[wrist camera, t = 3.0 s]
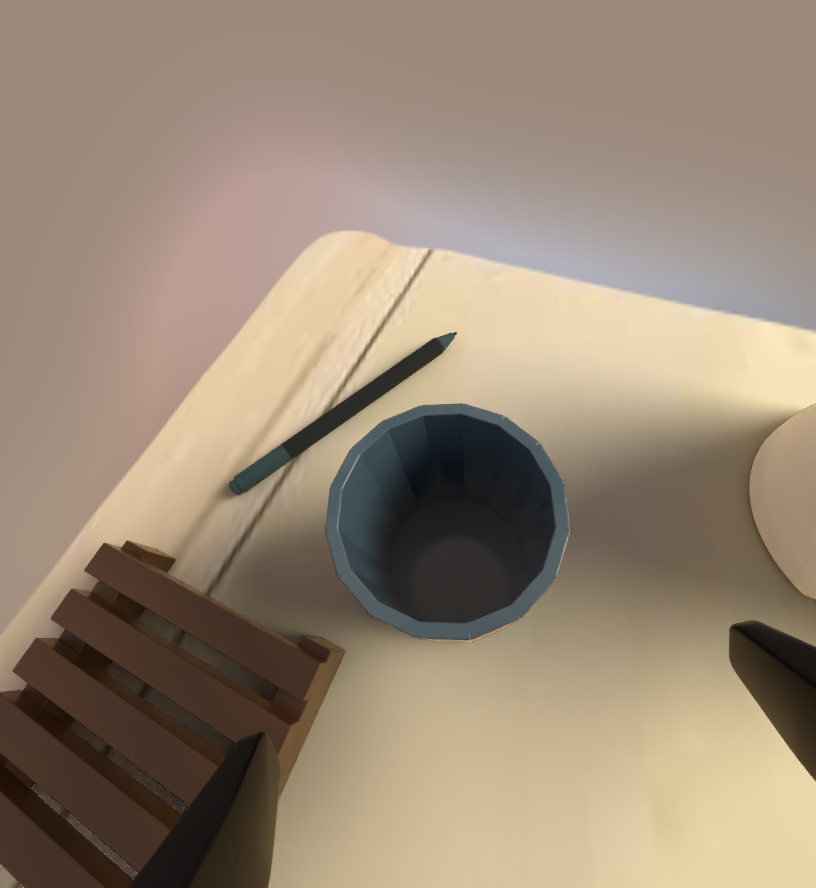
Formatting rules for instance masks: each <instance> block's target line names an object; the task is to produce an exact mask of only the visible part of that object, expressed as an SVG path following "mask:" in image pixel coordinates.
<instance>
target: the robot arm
mask: <svg viewBox="0 0 816 888" xmlns="http://www.w3.org/2000/svg"><path fill="white" fill-rule="evenodd" d="M729 658H730V662H731V665H732V667H733V669H734V671H735V672H736V674H737V675H738V676H739V678H740V679H741V681H742V682H743V683H744V685H745V686H746V688H747V689H748V690H749V692H750V693H751V695H752V696H753V697H754V699H755V700H756V702H757V703H758V705H759V706H760V707H761V709H762V710H763V712H764V713H765V714H766V716H767V717H768V719H769V720H770V721H771V723H772V724H773V726H774V727H775V728H776V730H777V731H778V733H779V734H780V735H781V737H782V738H783V740H784V741H785V742H786V744H787V745H788V747H789V748H790V749H791V751H792V752H793V753H794V755H795V756H796V757H797V759H798V760H799V761H800V763H801V764H802V765H803V766H804V767H805V769H806V770H807V771H808V772H809V774H810V775H811V776H812V777H813V779H814V780H815V781H816V647H815V646H813V645H811V644H808V643H806V642H804V641H802V640H799V639H797V638H795V637H793V636H790V635H788V634H786V633H784V632H781V631H779V630H777V629H775V628H772V627H770V626H768V625H766V624H763V623H761V622H758V621H754V620H750V621H745V622H741V623H736V624H733V625H732V626H731V627H730V630H729ZM280 774H281V765H280V760H279V757H278V755H277V753H276V751H275V749H274V747H273V745H272V743H271V741H270V739H269V737H268V735H267V733H266V732H264V731H257V732H253V733H248V734H245V735H244V736H242V737H241V738H240V739H239V740H238V742H237V743H236V744H235V746H234V747H233V748H232V750H231V751H230V752H229V754H228V755H227V756H226V758H225V759H224V760H223V762H222V763H221V764H220V766H219V767H218V768H217V770H216V771H215V772H214V774H213V775H212V776H211V778H210V779H209V780H208V782H207V783H206V784H205V786H204V787H203V788H202V790H201V791H200V792H199V794H198V795H197V796H196V798H195V799H194V800H193V802H192V803H191V804H190V806H189V807H188V808H187V810H186V811H185V812H184V814H183V815H182V816H181V818H180V819H179V820H178V822H177V823H176V824H175V826H174V827H173V828H172V830H171V831H170V832H169V833H168V835H167V836H166V837H165V839H164V840H163V841H162V843H161V844H160V845H159V847H158V848H157V849H156V851H155V852H154V853H153V855H152V856H151V857H150V859H149V860H148V861H147V863H146V864H145V865H144V867H143V868H142V869H141V871H140V872H139V873H138V875H137V876H136V877H135V879H134V880H133V881H132V883H131V884H130V885H129V887H128V888H268V886H269V879H270V873H271V865H272V856H273V846H274V836H275V825H276V815H277V805H278V795H279V784H280Z"/></svg>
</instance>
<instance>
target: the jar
mask: <svg viewBox="0 0 816 888" xmlns="http://www.w3.org/2000/svg"><path fill="white" fill-rule="evenodd" d="M749 492H750V502H751V508H752V513H753V516H754V520H755V523H756V526H757V528H758V531H759V533H760V536H761V538H762V540H763V542H764V544H765V546H766V547H767V549H768V551H769V553H770V554H771V556H772V557H773V559H774V561H775V562H776V563H777V565H778V566H779V568H780V569H781V570H782V572H783V573H784V574H785V575H786V577H787V578H788V579H789V580H790V581H791V583H792V584H793V585H794V586H795V587H796V588H797V589H798V590H799V591H800V592H801V593H802V594H803V595H805V596H808V597H810V598H813V599H816V404H813V405H811V406H809V407H807V408H806V409H804V410H802V411H801V412H799V413H798V414H796V415H795V416H793V417H792V418H791V419H789V420H788V421H786V422H785V423H783V424H782V425H781V426H779V427H778V428H777V429H776V430H775V431H774V432H773V433H772V434H771V435H770V436H769V437H768V438H767V439H766V440H765V442H764V443H763V444H762V446H761V448H760V449H759V451H758V453H757V455H756V457H755V460H754V462H753V466H752V470H751V475H750V485H749Z"/></svg>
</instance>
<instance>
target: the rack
mask: <svg viewBox="0 0 816 888" xmlns="http://www.w3.org/2000/svg"><path fill="white" fill-rule="evenodd" d="M175 560H176V559H174V558H173V557H171V556H169V555H167V554H165V553H163V552H161V551H159V550H158V549H155V548H151V547H148V546H145V545H141V544H138V543H135V542H131V541H126V542H125V544H124V545H123V547H122V548H121V547H118V546H115V545H111V544H107V543H103V545H102V546H101V547H100V549H99V550H98V552H97V553H96V554H95V556H94V557H93V559H92V560H91V561H90V563H89V564H88V566H87V567H86V568H85V570H84V571H85V572H87V573H88V574H90V575H92V576H93V577H95V578H97V579H98V580H99V581H98V583H97V584H96V586H95V587H94V588H93V590H92V591H91V592H90V591H86V590H78V589H71V590H70V591H69V593H68V594H67V596H66V597H65V598H64V600H63V601H62V603H61V604H60V605H59V607H58V608H57V610H56V611H55V612H54V614H53V615H52V617H51V620H53V621H54V622H56V623H57V624H59V625H60V626H62V627H63V628H65V630H64V632H63V633H62V635H61V636H60V638H59V639H56V638H36V639H35V640H34V641H33V643H32V644H31V646H30V647H29V648H28V650H27V651H26V653H25V654H24V655H23V657H22V658H21V660H20V661H19V662H18V664H17V665H16V667H15V668H14V669H13V672H14V673H15V674H17V675H18V676H19V677H21V678H22V679H23V680H25V681H26V682H27V683H28V684H27V685H26V687H25V688H24V689H23V691H21V690H16V691H6V692H0V864H1V865H2V866H3V867H4V868H5V869H6V870H7V871H8V872H9V873H10V874H11V875H12V876H13V877H14V878H15V879H16V880H17V881H18V882H19V883H20V884H21V885H22V886H23V887H24V888H128V887H129V885H130V884H131V883H132V881H133V879H132V878H131V877H130V876H129V875H127V874H126V873H125V872H124V871H123V870H122V869H121V868H119V867H118V866H117V865H116V864H115V863H114V862H113V861H111V860H110V859H109V858H108V857H107V856H106V855H105V854H104V853H102V852H101V851H100V850H99V849H98V848H97V847H96V846H94V845H93V844H92V843H91V842H90V841H89V840H88V839H86V838H85V837H84V836H83V835H82V834H81V833H80V832H78V831H77V830H76V829H75V828H74V827H73V826H72V825H71V824H69V823H68V822H67V821H66V820H65V819H64V818H63V817H61V816H60V815H59V814H58V813H57V812H56V811H55V810H53V809H52V808H51V807H50V806H49V805H48V804H47V803H45V802H44V801H43V800H42V799H41V798H40V797H39V796H38V795H36V794H35V793H34V792H33V791H32V790H31V789H30V788H31V786H32V784H33V783H34V782H35V783H36V784H37V785H38V786H39V787H41V788H42V789H43V790H44V791H45V792H46V793H47V794H49V795H50V796H51V797H52V798H53V799H54V800H56V801H57V802H58V803H59V804H60V805H61V806H62V807H64V808H65V809H66V810H67V811H68V812H69V813H71V814H72V815H73V816H74V817H75V818H76V819H77V820H79V821H80V822H81V823H82V824H83V825H84V826H86V827H87V828H88V829H89V830H90V831H91V832H92V833H94V834H95V835H96V836H97V837H98V838H99V839H101V840H102V841H103V842H104V843H105V844H106V845H107V846H109V847H110V848H111V849H112V850H113V851H114V852H116V853H117V854H118V855H119V856H120V857H121V858H122V859H124V860H125V861H126V862H127V863H128V864H129V865H131V866H132V867H133V868H134V869H135V870H136V871H137V872H140V871H141V869H142V868H143V867H144V865H145V864H146V863H147V861H148V860H149V859H150V857H151V856H152V855H153V853H154V852H155V851H156V849H157V848H158V847H159V845H160V844H161V843H162V841H163V840H164V839H165V837H166V836H167V835H168V833H169V832H170V831H171V830H172V828H173V827H174V826H175V824H176V823H177V822H178V820H179V819H180V818H181V816H182V815H180V814H179V813H178V812H176V811H175V810H174V809H173V808H171V807H170V806H169V805H167V804H166V803H165V802H164V801H162V800H161V799H160V798H158V797H157V796H156V795H155V794H153V793H152V792H151V791H149V790H148V789H147V788H146V787H144V786H143V785H142V784H140V783H139V782H138V781H137V780H135V779H134V778H133V777H131V776H130V775H129V774H128V773H126V772H125V771H124V770H122V769H121V768H120V767H119V766H117V765H116V764H115V763H113V762H112V761H111V760H110V759H108V758H107V757H106V756H104V755H103V754H102V753H101V752H99V751H98V750H97V749H95V748H94V747H93V746H92V745H90V744H89V743H88V742H86V741H85V740H84V739H83V738H81V737H80V736H79V735H77V734H76V733H75V732H74V731H72V730H71V729H70V728H69V726H70V725H71V723H72V722H73V720H74V719H76V720H77V721H78V722H80V723H81V724H82V725H84V726H85V727H86V728H88V729H89V730H90V731H91V732H93V733H94V734H95V735H97V736H98V737H99V738H101V739H102V740H103V741H105V742H106V743H107V744H109V745H110V746H111V747H112V748H114V749H115V750H116V751H118V752H119V753H120V754H122V755H123V756H124V757H126V758H127V759H128V760H130V761H131V762H132V763H133V764H135V765H136V766H137V767H139V768H140V769H141V770H143V771H144V772H145V773H147V774H148V775H149V776H151V777H152V778H153V779H154V780H156V781H157V782H158V783H160V784H161V785H162V786H164V787H165V788H166V789H168V790H169V791H170V792H172V793H173V794H174V795H175V796H177V797H178V798H179V799H181V800H182V801H183V802H185V803H186V804H187V805H189V806H190V804H191V803H192V802H193V800H194V799H195V798H196V796H197V795H198V794H199V792H200V791H201V790H202V788H203V787H204V786H205V784H206V783H207V782H208V780H209V779H210V778H211V776H212V775H213V774H214V772H215V771H216V770H217V768H218V767H219V766H220V764H221V763H222V762H223V760H224V759H225V758H226V755H224V754H223V753H222V752H220V751H219V750H217V749H216V748H214V747H213V746H211V745H210V744H209V743H207V742H206V741H204V740H203V739H201V738H200V737H198V736H197V735H195V734H194V733H193V732H191V731H190V730H188V729H187V728H185V727H184V726H182V725H181V724H180V723H178V722H177V721H175V720H174V719H172V718H171V717H169V716H168V715H167V714H165V713H164V712H162V711H161V710H159V709H158V708H156V707H155V706H153V705H152V704H151V703H149V702H148V701H146V700H145V699H143V698H142V697H140V696H139V695H138V694H136V693H135V692H133V691H132V690H130V689H129V688H127V687H126V686H125V685H123V684H122V683H120V682H119V681H117V680H116V679H114V678H113V677H112V676H110V675H109V674H107V673H106V672H104V671H105V670H106V668H107V667H108V665H109V664H110V662H111V660H112V661H114V662H115V663H116V664H118V665H119V666H121V667H122V668H124V669H125V670H127V671H128V672H130V673H131V674H133V675H134V676H136V677H137V678H139V679H140V680H142V681H143V682H145V683H146V684H148V685H149V686H151V687H152V688H154V689H155V690H157V691H158V692H160V693H161V694H162V695H164V696H165V697H167V698H168V699H170V700H171V701H173V702H174V703H176V704H177V705H179V706H180V707H182V708H183V709H185V710H186V711H188V712H189V713H191V714H192V715H194V716H195V717H197V718H198V719H200V720H201V721H203V722H204V723H206V724H207V725H208V726H210V727H211V728H213V729H214V730H216V731H217V732H219V733H220V734H222V735H223V736H225V737H226V738H228V739H229V740H231V741H232V742H234V743H235V744H236V743H237V742H238V740H239V739H240V738H241V737H242V736H244V735H245V734H248V733H253V732H257V731H264V732H266V733H267V735H268V737H269V739H270V741H271V743H272V745H273V747H274V749H275V751H276V753H277V755H278V757H279V760H280V765H281V774H280V784H279V795H278V799H279V797H280V795H281V793H282V790H283V788H284V786H285V784H286V782H287V779H288V777H289V775H290V773H291V770H292V768H293V766H294V764H295V762H296V759H297V757H298V755H299V753H300V750H301V748H302V746H303V744H304V742H305V739H306V737H307V735H308V733H309V730H310V728H311V726H312V724H313V722H314V719H315V717H316V715H317V713H318V710H319V708H320V706H321V704H322V702H323V699H324V697H325V695H326V693H327V691H328V688H329V686H330V684H331V682H332V679H333V677H334V675H335V673H336V671H337V668H338V666H339V664H340V662H341V659H342V657H343V655H344V653H345V650H344V649H342V648H340V647H338V646H337V645H335V644H333V643H331V642H329V641H327V640H325V639H324V638H322V637H308V636H303V637H302V639H301V641H300V644H299V646H298V645H296V644H294V643H292V642H291V641H289V640H287V639H285V638H283V637H282V636H280V635H278V634H276V633H274V632H273V631H271V630H269V629H267V628H265V627H264V626H262V625H260V624H258V623H256V622H255V621H253V620H251V619H249V618H247V617H245V616H244V615H242V614H240V613H238V612H236V611H235V610H233V609H231V608H229V607H227V606H226V605H224V604H222V603H220V602H218V601H217V600H215V599H213V598H211V597H209V596H208V595H206V594H204V593H202V592H200V591H199V590H197V589H195V588H193V587H191V586H189V585H188V584H186V583H184V582H182V581H180V580H179V579H177V578H175V577H173V576H171V575H170V574H168V571H169V569H170V568H171V566H172V565H173V563H174V562H175ZM145 608H147V609H148V610H150V611H152V612H153V613H155V614H157V615H158V616H160V617H162V618H163V619H165V620H167V621H168V622H170V623H172V624H173V625H175V626H177V627H178V628H180V629H182V630H183V631H185V632H187V633H188V634H190V635H192V636H193V637H195V638H197V639H198V640H200V641H202V642H203V643H205V644H207V645H208V646H210V647H212V648H213V649H215V650H217V651H218V652H220V653H222V654H223V655H225V656H227V657H228V658H230V659H232V660H233V661H235V662H237V663H238V664H240V665H242V666H243V667H245V668H247V669H248V670H250V671H252V672H253V673H255V674H257V675H258V676H260V677H262V678H263V679H265V680H267V681H268V682H270V683H272V684H273V685H275V686H277V687H278V688H277V690H276V692H275V694H274V696H273V699H272V701H271V703H270V702H268V701H267V700H265V699H263V698H262V697H260V696H258V695H257V694H255V693H254V692H252V691H250V690H249V689H247V688H245V687H244V686H242V685H241V684H239V683H237V682H236V681H234V680H233V679H231V678H229V677H228V676H226V675H224V674H223V673H221V672H220V671H218V670H216V669H215V668H213V667H211V666H210V665H208V664H207V663H205V662H203V661H202V660H200V659H198V658H197V657H195V656H194V655H192V654H190V653H189V652H187V651H186V650H184V649H182V648H181V647H179V646H177V645H176V644H174V643H173V642H171V641H169V640H168V639H166V638H164V637H163V636H161V635H160V634H158V633H156V632H155V631H153V630H152V629H150V628H148V627H147V626H145V625H143V624H142V623H140V622H139V621H137V620H138V618H139V616H140V615H141V613H142V612H143V610H144V609H145Z"/></svg>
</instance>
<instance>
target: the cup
mask: <svg viewBox="0 0 816 888" xmlns="http://www.w3.org/2000/svg"><path fill="white" fill-rule="evenodd" d="M570 529H571V528H570V521H569V514H568V507H567V500H566V493H565V485H564V483H563V480H562V478H561V477H560V475H559V473H558V472H557V470H556V468H555V467H554V465H553V463H552V462H551V460H550V458H549V457H548V455H547V453H546V452H545V450H544V449H543V447H542V445H541V444H539V442H538V441H537V440H536V439H534V438H533V437H532V436H530V435H529V434H528V433H526V432H525V431H524V430H522V429H521V428H520V427H518V426H517V425H516V424H515V423H513V422H512V421H511V420H509V419H508V418H507V417H504V416H503V415H500V414H497V413H493V412H490V411H487V410H483V409H480V408H477V407H473V406H470V405H467V404H462V403H461V404H440V405H422V406H418V407H416V408H413V409H411V410H408V411H406V412H403V413H401V414H398V415H396V416H393V417H391V418H388V419H386V420H383V422H380V423H379V424H378V425H377V426H376V427H375V428H374V429H372V430H371V431H370V432H369V433H368V434H367V435H366V436H365V437H363V438H362V439H361V440H360V441H359V442H358V443H357V444H356V445H354V446H353V447H352V448H351V450H350V451H349V453H348V454H347V456H346V458H345V460H344V462H343V464H342V466H341V468H340V469H339V471H338V473H337V475H336V477H335V479H334V481H333V483H332V484H331V488H330V492H329V501H328V509H327V518H326V526H325V531H326V532H325V534H326V537H327V541H328V544H329V548H330V551H331V555H332V558H333V562H334V566H335V569H336V573H337V575H338V576H339V579H340V580H341V581H342V583H343V584H344V585H345V586H346V587H347V589H348V590H349V591H350V592H351V594H352V595H353V596H354V597H355V598H356V600H357V601H358V602H359V603H360V605H361V606H362V607H363V608H364V609H365V611H366V612H367V613H368V614H370V615H371V616H372V617H374V618H376V619H378V620H380V621H382V622H384V623H386V624H388V625H390V626H392V627H394V628H396V629H398V630H400V631H402V632H404V633H406V634H408V635H410V636H412V637H414V638H418V639H425V640H434V641H450V642H471V641H472V642H473V641H476V640H478V639H480V638H483V637H485V636H487V635H490V634H492V633H494V632H497V631H499V630H501V629H503V628H505V627H507V626H509V625H511V624H512V623H514V622H516V621H518V620H520V619H521V618H523V616H524V615H525V614H526V613H527V612H528V611H529V610H530V609H531V607H532V606H533V605H534V604H535V603H536V602H537V601H538V600H539V598H540V597H541V596H542V595H543V594H544V593H545V592H546V591H547V589H548V588H549V587H550V586H551V585H552V584H553V583H554V582H555V580H556V578H557V576H558V573H559V569H560V566H561V562H562V559H563V556H564V552H565V549H566V545H567V542H568V539H569V535H570Z"/></svg>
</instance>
